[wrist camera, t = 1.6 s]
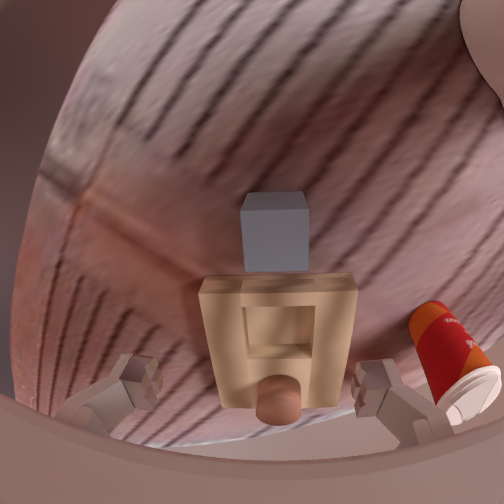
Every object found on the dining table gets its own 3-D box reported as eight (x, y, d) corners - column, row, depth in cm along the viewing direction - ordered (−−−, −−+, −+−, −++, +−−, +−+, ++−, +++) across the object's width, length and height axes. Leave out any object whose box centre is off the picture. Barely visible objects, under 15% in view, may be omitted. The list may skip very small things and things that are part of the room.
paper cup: (453, 327, 31) (499, 405, 19) (404, 351, 33) (437, 437, 21) (450, 282, 29) (511, 361, 16) (395, 307, 31) (439, 401, 18)
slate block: (302, 190, 26) (309, 209, 21) (303, 241, 29) (308, 270, 23) (247, 192, 27) (239, 211, 22) (251, 242, 29) (245, 272, 24)
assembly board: (350, 272, 29) (368, 315, 23) (334, 386, 37) (340, 430, 30) (206, 275, 31) (186, 318, 24) (225, 387, 38) (217, 431, 31)
